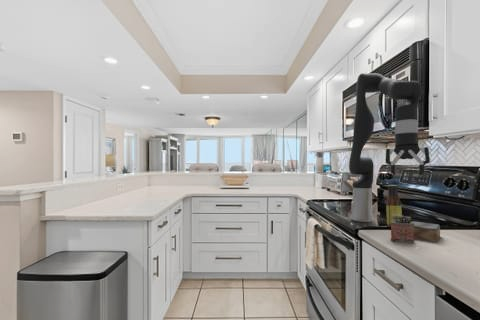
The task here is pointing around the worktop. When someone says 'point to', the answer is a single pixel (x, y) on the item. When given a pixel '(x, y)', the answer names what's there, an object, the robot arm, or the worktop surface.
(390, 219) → the sauce bottle
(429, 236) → the grey slab
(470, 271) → the worktop surface
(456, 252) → the worktop surface
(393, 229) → the lighter
